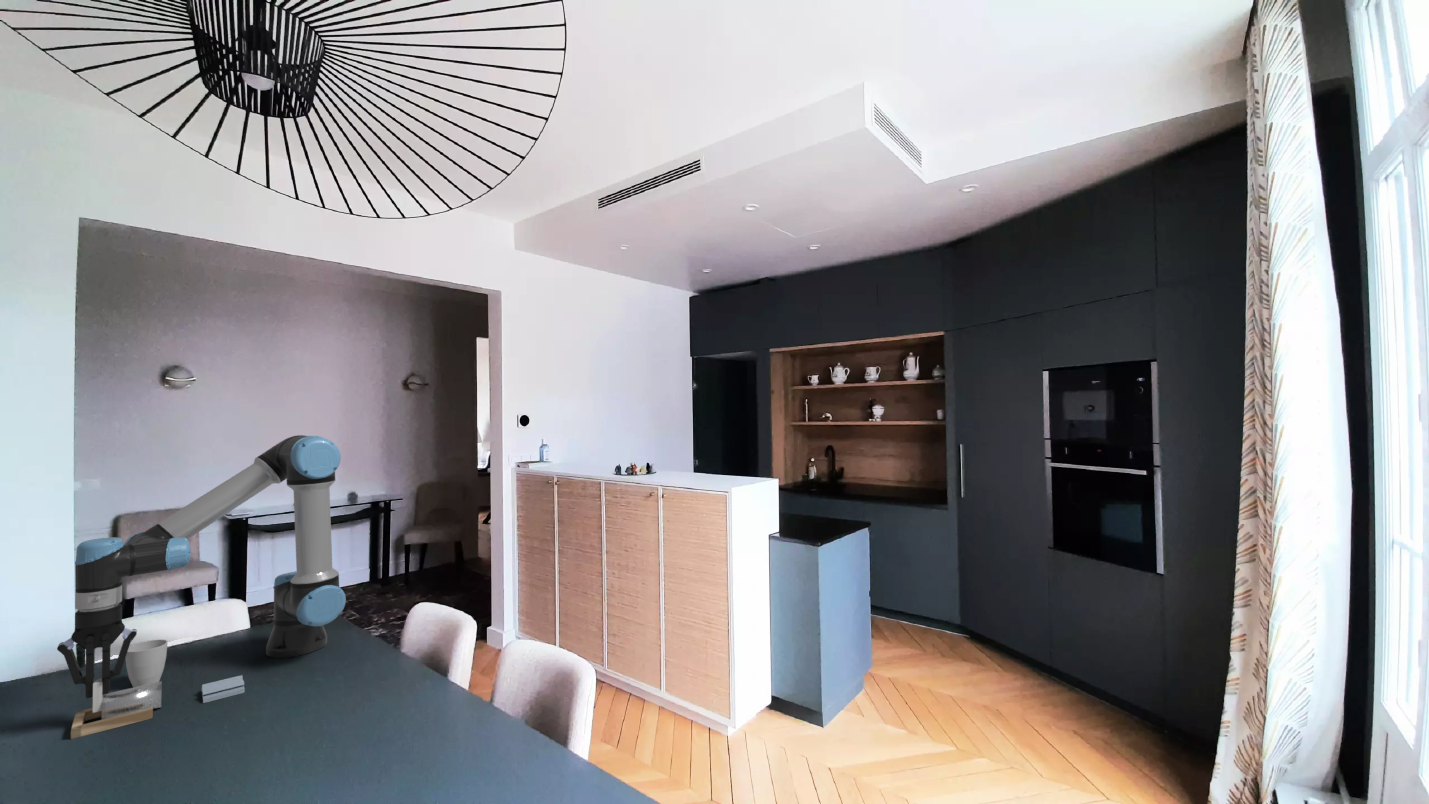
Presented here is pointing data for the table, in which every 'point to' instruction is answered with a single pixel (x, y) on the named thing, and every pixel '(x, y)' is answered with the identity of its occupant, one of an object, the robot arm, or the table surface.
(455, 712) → the table surface
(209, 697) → the v block
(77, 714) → the wooden flat frame
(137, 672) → the cup
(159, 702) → the grey metal cylinder
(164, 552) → the robot arm
